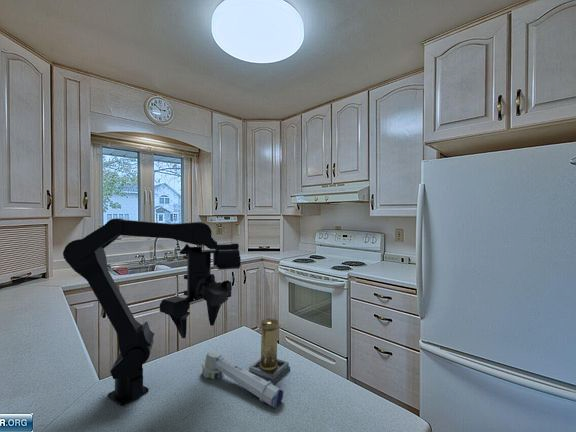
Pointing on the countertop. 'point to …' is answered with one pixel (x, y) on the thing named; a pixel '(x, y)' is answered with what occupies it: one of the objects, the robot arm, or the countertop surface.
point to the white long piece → (241, 378)
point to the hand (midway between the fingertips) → (198, 331)
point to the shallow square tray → (274, 377)
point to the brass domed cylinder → (269, 345)
